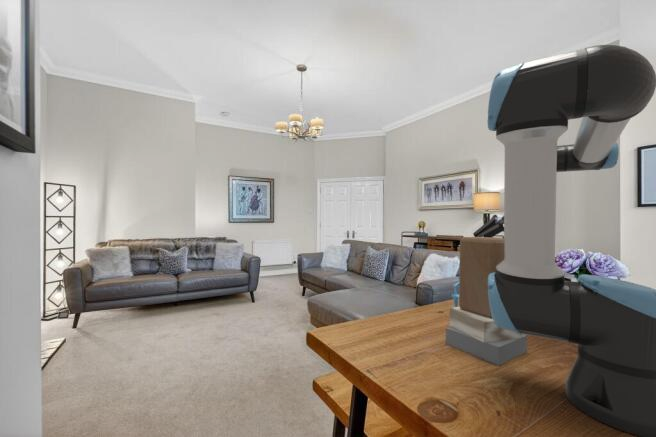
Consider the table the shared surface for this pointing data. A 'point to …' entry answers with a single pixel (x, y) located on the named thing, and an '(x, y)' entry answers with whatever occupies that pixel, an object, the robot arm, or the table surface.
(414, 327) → the table surface
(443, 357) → the table surface
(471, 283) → the block
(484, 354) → the tower base
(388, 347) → the table surface
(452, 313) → the tower top
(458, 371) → the table surface
